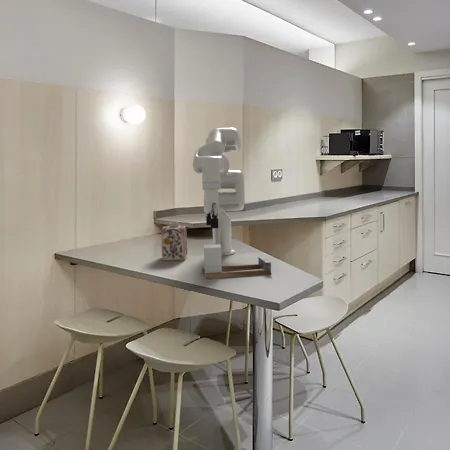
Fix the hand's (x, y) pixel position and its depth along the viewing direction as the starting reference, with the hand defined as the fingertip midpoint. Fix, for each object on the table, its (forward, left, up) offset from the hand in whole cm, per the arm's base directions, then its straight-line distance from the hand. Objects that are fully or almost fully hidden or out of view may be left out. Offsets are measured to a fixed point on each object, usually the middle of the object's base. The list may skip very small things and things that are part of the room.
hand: (212, 226), depth 211 cm
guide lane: (0, +9, -21) cm, 23 cm away
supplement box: (0, 0, -21) cm, 21 cm away
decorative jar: (-38, -12, -21) cm, 45 cm away
